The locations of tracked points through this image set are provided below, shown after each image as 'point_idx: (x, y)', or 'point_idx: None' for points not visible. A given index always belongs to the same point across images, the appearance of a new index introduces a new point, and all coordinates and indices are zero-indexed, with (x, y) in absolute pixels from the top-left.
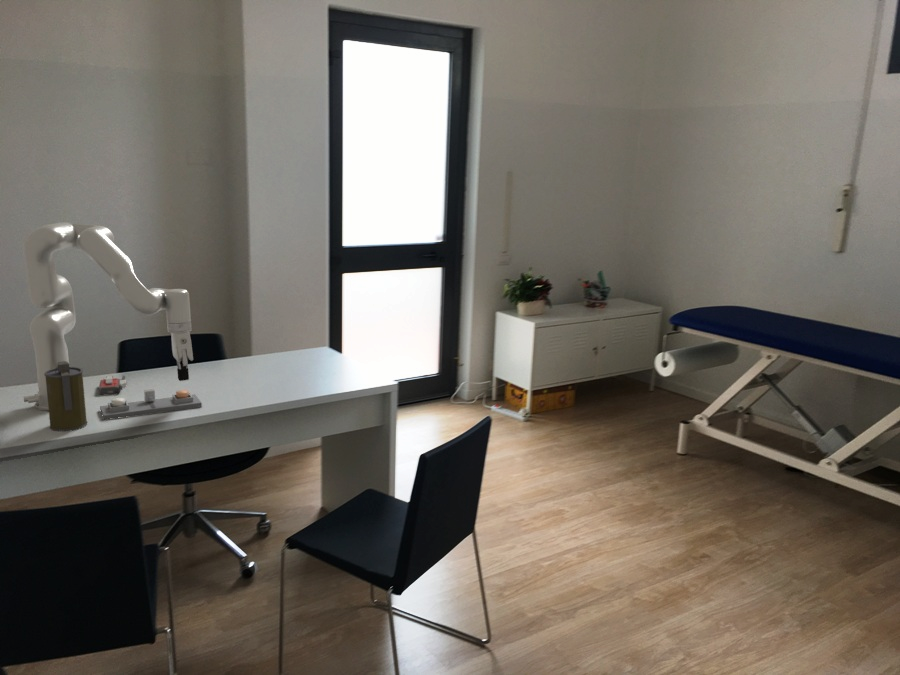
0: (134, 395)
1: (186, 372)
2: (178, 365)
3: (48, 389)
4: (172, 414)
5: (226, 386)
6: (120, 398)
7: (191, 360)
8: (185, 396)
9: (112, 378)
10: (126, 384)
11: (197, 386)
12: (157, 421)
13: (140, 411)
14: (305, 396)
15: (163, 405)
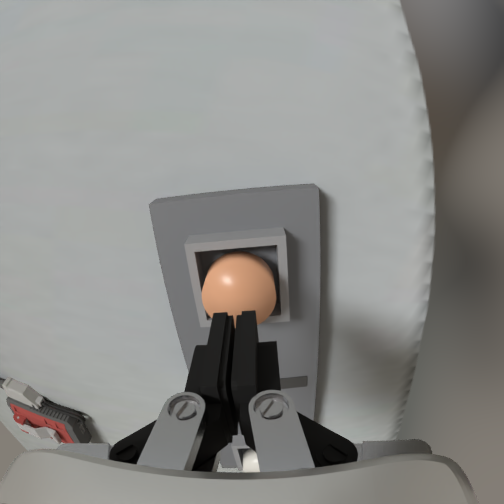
0: (90, 389)
1: (257, 367)
2: (218, 460)
3: None
4: (360, 314)
5: (29, 56)
6: (251, 467)
7: (434, 459)
8: (272, 277)
9: (32, 428)
10: (11, 379)
11: (3, 181)
12: (402, 355)
13: (314, 407)
14: None
15: (287, 352)
